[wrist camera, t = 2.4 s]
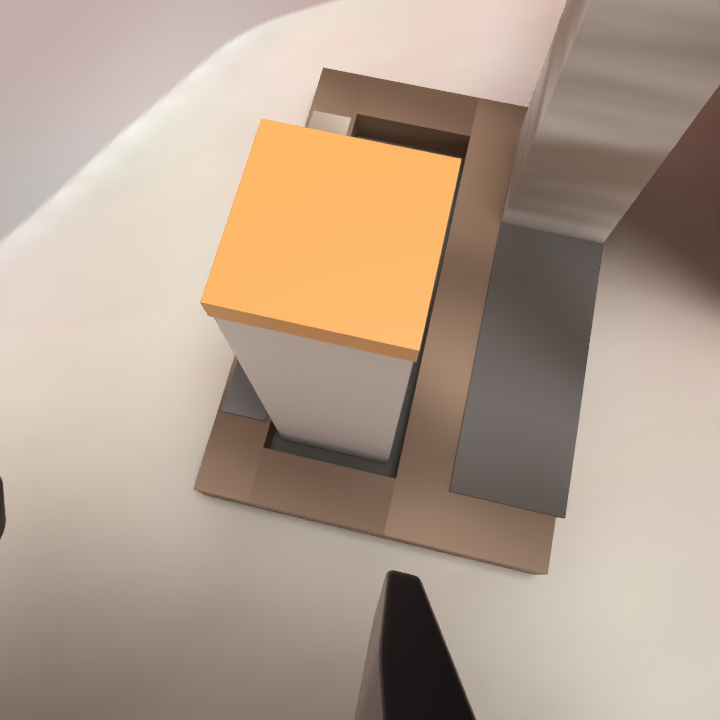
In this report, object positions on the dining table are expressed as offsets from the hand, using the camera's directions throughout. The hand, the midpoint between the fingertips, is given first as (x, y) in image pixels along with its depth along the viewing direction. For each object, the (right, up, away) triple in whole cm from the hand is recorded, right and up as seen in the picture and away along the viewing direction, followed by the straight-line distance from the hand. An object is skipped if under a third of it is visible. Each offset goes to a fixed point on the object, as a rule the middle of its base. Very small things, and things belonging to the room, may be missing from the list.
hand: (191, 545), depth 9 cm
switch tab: (+2, +1, +14) cm, 14 cm away
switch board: (+4, +4, +15) cm, 16 cm away
